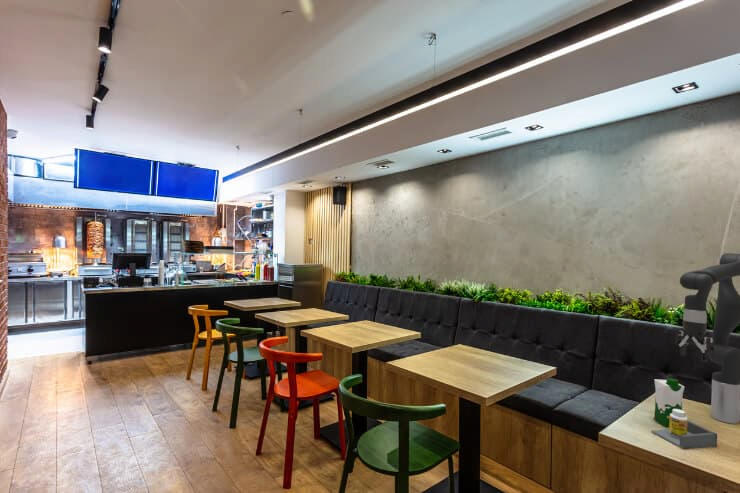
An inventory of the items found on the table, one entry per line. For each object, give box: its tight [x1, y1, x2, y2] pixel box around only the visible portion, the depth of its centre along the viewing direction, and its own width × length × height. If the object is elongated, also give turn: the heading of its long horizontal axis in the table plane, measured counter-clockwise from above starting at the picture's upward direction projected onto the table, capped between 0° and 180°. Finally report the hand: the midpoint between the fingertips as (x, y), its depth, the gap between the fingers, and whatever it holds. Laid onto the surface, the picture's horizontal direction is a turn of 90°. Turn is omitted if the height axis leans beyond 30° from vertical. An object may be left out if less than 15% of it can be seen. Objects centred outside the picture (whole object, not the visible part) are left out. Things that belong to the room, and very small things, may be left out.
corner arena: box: [650, 419, 718, 450], centre depth 152 cm, size 16×13×5 cm
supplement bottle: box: [668, 409, 688, 438], centre depth 152 cm, size 6×6×10 cm
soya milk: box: [653, 377, 685, 428], centre depth 165 cm, size 9×9×20 cm
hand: (693, 358), depth 160 cm, fingers open, 8 cm apart
